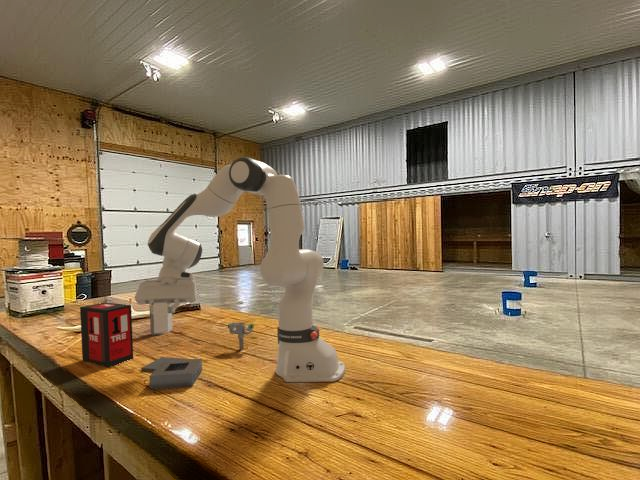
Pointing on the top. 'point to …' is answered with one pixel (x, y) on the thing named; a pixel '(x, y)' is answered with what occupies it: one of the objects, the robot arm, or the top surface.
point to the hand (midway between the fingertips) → (162, 312)
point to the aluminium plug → (162, 316)
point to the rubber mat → (158, 363)
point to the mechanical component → (240, 331)
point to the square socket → (176, 374)
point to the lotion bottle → (152, 324)
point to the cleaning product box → (106, 333)
